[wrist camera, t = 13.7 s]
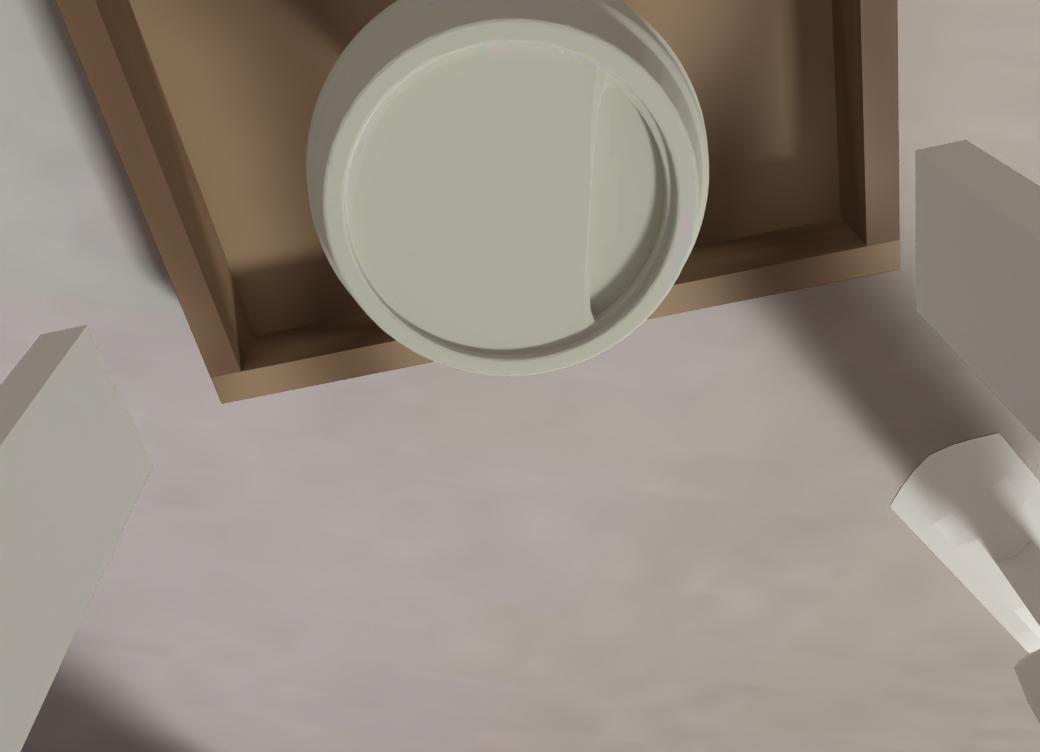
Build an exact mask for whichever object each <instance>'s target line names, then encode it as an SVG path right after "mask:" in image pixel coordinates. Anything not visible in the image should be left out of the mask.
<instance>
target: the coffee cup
mask: <svg viewBox="0 0 1040 752" xmlns="http://www.w3.org/2000/svg"><path fill="white" fill-rule="evenodd" d="M306 176H307V187H308V194H309V203H310V209H311V214H312V218H313V222H314V226H315V229H316V232H317V235H318V238H319V241H320V243H321V246H322V248H323V251H324V253H325V255H326V257H327V259H328V261H329V263H330V265H331V267H332V268H333V270H334V272H335V273H336V275H337V277H338V278H339V280H340V281H341V282H342V284H343V285H344V287H345V288H346V289H347V291H348V292H349V293H350V294H351V295H352V297H353V298H354V299H355V300H356V302H357V303H358V305H359V306H360V307H361V308H362V309H363V310H364V311H365V313H366V314H367V315H368V316H369V317H370V318H371V319H372V320H373V321H374V322H375V323H376V324H377V325H378V326H379V327H380V328H381V329H382V330H383V331H385V332H386V333H387V334H388V335H390V336H391V337H392V338H394V339H395V340H396V341H398V342H399V343H401V344H402V345H404V346H405V347H407V348H409V349H410V350H412V351H413V352H415V353H417V354H419V355H421V356H423V357H426V358H428V359H430V360H432V361H434V362H437V363H439V364H442V365H445V366H448V367H451V368H455V369H458V370H462V371H467V372H472V373H477V374H482V375H497V376H522V375H533V374H540V373H547V372H551V371H555V370H558V369H562V368H566V367H569V366H572V365H575V364H578V363H580V362H583V361H585V360H588V359H590V358H592V357H594V356H596V355H599V354H600V353H602V352H604V351H606V350H607V349H609V348H611V347H613V346H614V345H615V344H617V343H618V342H620V341H621V340H623V339H624V338H626V337H627V336H628V335H630V334H631V333H632V332H633V331H634V330H635V329H637V328H638V327H639V326H640V325H641V324H642V323H644V322H645V321H646V319H647V318H648V317H649V316H650V315H651V314H652V313H653V312H654V311H655V310H656V309H657V307H658V306H659V305H660V304H661V302H662V301H663V300H664V298H665V297H666V296H667V295H668V293H669V292H670V290H671V288H672V286H673V285H674V283H675V281H676V280H677V278H678V276H679V275H680V273H681V270H682V268H683V266H684V265H685V263H686V261H687V259H688V257H689V255H690V253H691V251H692V249H693V246H694V244H695V242H696V239H697V236H698V233H699V231H700V227H701V224H702V220H703V217H704V212H705V207H706V202H707V197H708V187H709V155H708V144H707V135H706V129H705V123H704V119H703V115H702V111H701V107H700V104H699V101H698V98H697V95H696V93H695V90H694V88H693V85H692V83H691V81H690V79H689V77H688V75H687V73H686V71H685V69H684V67H683V66H682V64H681V62H680V61H679V59H678V58H677V56H676V55H675V53H674V52H673V50H672V49H671V48H670V46H669V45H668V44H667V42H666V41H665V40H664V39H663V38H662V36H661V35H660V34H659V33H658V32H657V31H656V30H655V29H654V28H653V27H652V26H651V25H650V24H649V23H648V22H647V21H646V20H645V19H644V18H643V17H641V16H640V15H639V14H638V13H637V12H635V11H634V10H633V9H631V8H630V7H629V6H627V5H626V4H625V3H623V2H622V1H620V0H397V1H396V2H394V3H393V4H391V5H390V6H388V7H387V8H386V9H384V10H383V11H382V12H380V13H379V14H378V15H377V16H376V17H374V18H373V19H372V20H371V21H370V22H369V23H368V24H367V25H366V26H365V27H364V28H363V29H362V30H361V31H360V32H359V33H358V34H357V35H356V36H355V37H354V38H353V40H352V41H351V42H350V43H349V44H348V46H347V47H346V48H345V50H344V51H343V52H342V54H341V55H340V57H339V58H338V60H337V61H336V63H335V64H334V66H333V68H332V69H331V71H330V73H329V75H328V77H327V79H326V81H325V83H324V85H323V87H322V90H321V92H320V94H319V97H318V100H317V102H316V106H315V109H314V112H313V116H312V120H311V124H310V129H309V135H308V142H307V153H306Z"/></svg>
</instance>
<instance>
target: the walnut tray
mask: <svg viewBox="0 0 1040 752" xmlns="http://www.w3.org/2000/svg"><path fill="white" fill-rule="evenodd" d="M55 1H56V3H57V6H58V8H59V11H60V13H61V15H62V18H63V20H64V23H65V25H66V28H67V30H68V32H69V35H70V37H71V40H72V42H73V44H74V47H75V49H76V52H77V54H78V57H79V59H80V61H81V64H82V66H83V69H84V71H85V74H86V76H87V78H88V81H89V83H90V86H91V88H92V91H93V93H94V95H95V98H96V100H97V103H98V105H99V108H100V110H101V112H102V115H103V117H104V120H105V122H106V125H107V127H108V129H109V132H110V134H111V137H112V139H113V142H114V144H115V146H116V149H117V151H118V154H119V156H120V158H121V161H122V163H123V166H124V168H125V171H126V173H127V175H128V178H129V180H130V183H131V185H132V188H133V190H134V192H135V195H136V197H137V200H138V202H139V205H140V207H141V209H142V212H143V214H144V217H145V219H146V222H147V224H148V226H149V229H150V231H151V234H152V236H153V239H154V241H155V243H156V246H157V248H158V251H159V253H160V256H161V258H162V260H163V263H164V265H165V268H166V270H167V272H168V275H169V277H170V280H171V282H172V285H173V287H174V289H175V292H176V294H177V297H178V299H179V302H180V304H181V306H182V309H183V311H184V314H185V316H186V319H187V321H188V323H189V326H190V328H191V331H192V333H193V336H194V338H195V340H196V343H197V345H198V348H199V350H200V353H201V355H202V357H203V360H204V362H205V365H206V367H207V369H208V372H209V374H210V377H211V379H212V382H213V384H214V386H215V389H216V391H217V394H218V396H219V399H220V401H221V403H222V404H223V403H228V402H233V401H238V400H243V399H248V398H253V397H258V396H263V395H269V394H274V393H279V392H284V391H289V390H294V389H299V388H304V387H309V386H314V385H319V384H324V383H329V382H334V381H339V380H344V379H349V378H354V377H359V376H364V375H369V374H374V373H379V372H384V371H390V370H395V369H400V368H405V367H410V366H415V365H420V364H425V363H430V362H434V361H432V360H430V359H428V358H426V357H423V356H421V355H419V354H417V353H415V352H413V351H412V350H410V349H409V348H407V347H405V346H404V345H402V344H401V343H399V342H398V341H396V340H395V339H394V338H392V337H391V336H390V335H388V334H387V333H386V332H385V331H383V330H382V329H381V328H380V327H379V326H378V325H377V324H376V323H375V322H374V321H373V320H372V319H371V318H370V317H369V316H368V315H367V314H366V313H365V311H364V310H363V309H362V308H361V307H360V306H359V305H358V303H357V302H356V300H355V299H354V298H353V297H352V295H351V294H350V293H349V292H348V291H347V289H346V288H345V287H344V285H343V284H342V282H341V281H340V280H339V278H338V277H337V275H336V273H335V272H334V270H333V268H332V267H331V265H330V263H329V261H328V259H327V257H326V255H325V253H324V251H323V248H322V246H321V243H320V241H319V238H318V235H317V232H316V229H315V226H314V222H313V218H312V214H311V209H310V203H309V194H308V187H307V176H306V153H307V142H308V135H309V129H310V124H311V120H312V116H313V112H314V109H315V106H316V102H317V100H318V97H319V94H320V92H321V90H322V87H323V85H324V83H325V81H326V79H327V77H328V75H329V73H330V71H331V69H332V68H333V66H334V64H335V63H336V61H337V60H338V58H339V57H340V55H341V54H342V52H343V51H344V50H345V48H346V47H347V46H348V44H349V43H350V42H351V41H352V40H353V38H354V37H355V36H356V35H357V34H358V33H359V32H360V31H361V30H362V29H363V28H364V27H365V26H366V25H367V24H368V23H369V22H370V21H371V20H372V19H373V18H374V17H376V16H377V15H378V14H379V13H380V12H382V11H383V10H384V9H386V8H387V7H388V6H390V5H391V4H393V3H394V2H396V1H397V0H55ZM620 1H622V2H623V3H625V4H626V5H627V6H629V7H630V8H631V9H633V10H634V11H635V12H637V13H638V14H639V15H640V16H641V17H643V18H644V19H645V20H646V21H647V22H648V23H649V24H650V25H651V26H652V27H653V28H654V29H655V30H656V31H657V32H658V33H659V34H660V35H661V36H662V38H663V39H664V40H665V41H666V42H667V44H668V45H669V46H670V48H671V49H672V50H673V52H674V53H675V55H676V56H677V58H678V59H679V61H680V62H681V64H682V66H683V67H684V69H685V71H686V73H687V75H688V77H689V79H690V81H691V83H692V85H693V88H694V90H695V93H696V95H697V98H698V101H699V104H700V107H701V111H702V115H703V119H704V123H705V129H706V135H707V144H708V155H709V187H708V197H707V202H706V207H705V212H704V217H703V220H702V224H701V227H700V231H699V233H698V236H697V239H696V242H695V244H694V246H693V249H692V251H691V253H690V255H689V257H688V259H687V261H686V263H685V265H684V266H683V268H682V270H681V273H680V275H679V276H678V278H677V280H676V281H675V283H674V285H673V286H672V288H671V290H670V292H669V293H668V295H667V296H666V297H665V298H664V300H663V301H662V302H661V304H660V305H659V306H658V307H657V309H656V310H655V311H654V312H653V313H652V314H651V315H650V316H649V317H648V318H647V319H652V318H657V317H662V316H667V315H672V314H677V313H682V312H687V311H692V310H697V309H702V308H707V307H712V306H717V305H722V304H727V303H732V302H737V301H742V300H747V299H753V298H758V297H763V296H768V295H773V294H778V293H783V292H788V291H793V290H798V289H803V288H808V287H813V286H818V285H823V284H828V283H833V282H838V281H843V280H848V279H853V278H858V277H863V276H868V275H874V274H879V273H884V272H889V271H894V270H899V269H900V241H899V131H898V22H897V0H620ZM647 319H646V320H647Z"/></svg>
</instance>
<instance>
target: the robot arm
mask: <svg viewBox="0 0 1040 752" xmlns="http://www.w3.org/2000/svg"><path fill="white" fill-rule="evenodd" d="M916 311H917V312H918V313H919V314H920V315H921V317H922V318H923V319H924V320H925V321H926V322H927V323H928V324H929V325H930V326H931V327H932V328H933V329H934V330H935V331H936V332H937V334H938V335H939V336H940V337H941V338H942V339H943V340H944V341H945V342H946V343H947V344H948V345H949V346H950V347H951V348H952V350H953V351H954V352H955V353H956V354H957V355H958V356H959V357H960V358H961V359H962V360H963V361H964V362H965V363H966V364H967V366H968V367H969V368H970V369H971V370H972V371H973V372H974V373H975V374H976V375H977V376H978V377H979V378H980V379H981V380H982V382H983V383H984V384H985V385H986V386H987V387H988V388H989V389H990V390H991V391H992V392H993V393H994V394H995V395H996V396H997V398H998V399H999V400H1000V401H1001V402H1002V403H1003V404H1004V405H1005V406H1006V407H1007V408H1008V409H1009V410H1010V411H1011V412H1012V414H1013V415H1014V416H1015V417H1016V418H1017V419H1018V420H1019V421H1020V422H1021V423H1022V424H1023V425H1024V426H1025V427H1026V428H1027V430H1028V431H1029V432H1030V433H1031V434H1032V435H1033V436H1034V437H1035V438H1036V439H1037V440H1038V441H1039V442H1040V186H1038V185H1037V184H1035V183H1034V182H1032V181H1030V180H1029V179H1027V178H1026V177H1024V176H1022V175H1021V174H1019V173H1018V172H1016V171H1014V170H1013V169H1011V168H1010V167H1008V166H1007V165H1005V164H1003V163H1002V162H1000V161H999V160H997V159H995V158H994V157H992V156H991V155H989V154H987V153H986V152H984V151H983V150H981V149H980V148H978V147H976V146H975V145H973V144H972V143H970V142H968V141H967V140H963V141H958V142H954V143H949V144H944V145H939V146H935V147H930V148H925V149H920V150H916ZM152 466H153V465H152V463H151V461H150V459H149V457H148V454H147V452H146V450H145V448H144V446H143V444H142V442H141V439H140V437H139V435H138V433H137V431H136V429H135V427H134V424H133V422H132V420H131V418H130V416H129V414H128V412H127V409H126V407H125V405H124V403H123V401H122V399H121V397H120V394H119V392H118V390H117V388H116V386H115V384H114V382H113V379H112V377H111V375H110V373H109V371H108V369H107V367H106V364H105V362H104V360H103V358H102V356H101V354H100V352H99V349H98V347H97V345H96V343H95V341H94V339H93V337H92V334H91V332H90V330H89V328H88V326H87V325H85V326H80V327H76V328H71V329H66V330H61V331H57V332H52V333H47V334H42V335H40V336H39V338H38V339H37V340H36V341H35V343H34V344H33V345H32V346H31V348H30V349H29V350H28V351H27V353H26V354H25V355H24V356H23V358H22V359H21V360H20V362H19V363H18V364H17V365H16V367H15V368H14V369H13V370H12V372H11V373H10V374H9V375H8V377H7V378H6V379H5V380H4V382H3V383H2V384H1V385H0V752H21V750H22V748H23V745H24V743H25V741H26V739H27V737H28V735H29V732H30V730H31V728H32V726H33V724H34V722H35V719H36V717H37V715H38V713H39V711H40V709H41V706H42V704H43V702H44V700H45V698H46V696H47V693H48V691H49V689H50V687H51V685H52V683H53V680H54V678H55V676H56V674H57V672H58V670H59V667H60V665H61V663H62V661H63V659H64V657H65V654H66V652H67V650H68V648H69V646H70V644H71V642H72V639H73V637H74V635H75V633H76V631H77V629H78V626H79V624H80V622H81V620H82V618H83V616H84V613H85V611H86V609H87V607H88V605H89V603H90V600H91V598H92V596H93V594H94V592H95V590H96V587H97V585H98V583H99V581H100V579H101V577H102V574H103V572H104V570H105V568H106V566H107V564H108V561H109V559H110V557H111V555H112V553H113V551H114V549H115V546H116V544H117V542H118V540H119V538H120V536H121V533H122V531H123V529H124V527H125V525H126V523H127V520H128V518H129V516H130V514H131V512H132V510H133V507H134V505H135V503H136V501H137V499H138V497H139V494H140V492H141V490H142V488H143V486H144V484H145V481H146V479H147V477H148V475H149V473H150V471H151V468H152Z"/></svg>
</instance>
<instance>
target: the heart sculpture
mask: <svg viewBox="0 0 1040 752" xmlns="http://www.w3.org/2000/svg"><path fill="white" fill-rule="evenodd" d="M890 508H891V509H892V510H893V511H894V512H895V513H896V514H897V515H898V516H899V517H900V518H901V519H902V520H903V521H904V522H905V523H906V524H907V525H908V526H909V528H910V529H911V530H912V531H913V532H914V533H915V534H916V535H917V536H918V537H919V538H920V539H921V540H922V541H923V542H924V543H925V544H926V545H927V546H928V548H929V549H930V550H931V551H932V552H933V553H934V554H935V555H936V556H937V557H938V558H939V559H940V560H941V561H942V562H943V563H944V564H945V565H946V566H947V568H948V569H949V570H950V571H951V572H952V573H953V574H954V575H955V576H956V577H957V578H958V579H959V580H960V581H961V582H962V583H963V584H964V585H965V587H966V588H967V589H968V590H969V591H970V592H971V593H972V594H973V595H974V596H975V597H976V598H977V599H978V600H979V601H980V602H981V603H982V604H983V605H984V607H985V608H986V609H987V610H988V611H989V612H990V613H991V614H992V615H993V616H994V617H995V618H996V619H997V620H998V621H999V622H1000V623H1001V624H1002V625H1003V627H1004V628H1005V629H1006V630H1007V631H1008V632H1009V633H1010V634H1011V635H1012V636H1013V637H1014V638H1015V639H1016V640H1017V641H1018V642H1019V643H1020V644H1021V645H1022V647H1023V648H1024V649H1025V650H1026V651H1027V652H1028V653H1031V652H1033V653H1031V654H1030V655H1028V656H1026V657H1024V658H1023V659H1021V660H1020V661H1019V662H1018V663H1017V665H1016V666H1015V667H1014V668H1015V670H1016V673H1017V676H1018V678H1019V681H1020V683H1021V686H1022V689H1023V691H1024V694H1025V696H1026V699H1027V702H1028V704H1029V705H1030V707H1031V709H1032V710H1033V712H1034V714H1035V716H1036V717H1037V719H1038V721H1039V722H1040V482H1039V480H1038V479H1037V478H1036V477H1035V476H1034V474H1033V473H1032V472H1031V471H1030V470H1029V468H1028V467H1027V466H1026V465H1025V464H1024V462H1023V461H1022V460H1021V459H1020V458H1019V456H1018V455H1017V454H1016V453H1015V452H1014V450H1013V449H1012V448H1011V447H1010V446H1009V444H1008V443H1007V442H1006V441H1005V440H1004V438H1003V437H1002V436H1001V435H1000V434H999V433H997V434H993V435H988V436H983V437H979V438H974V439H971V440H968V441H964V442H961V443H958V444H954V445H951V446H949V447H946V448H944V449H942V450H940V451H938V452H935V453H933V454H931V455H929V456H928V457H927V458H926V459H925V460H924V461H923V462H922V463H921V464H920V465H919V466H918V467H917V468H916V469H915V470H914V471H913V473H912V474H911V475H910V477H909V478H908V479H907V481H906V482H905V483H904V485H903V486H902V488H901V489H900V491H899V492H898V494H897V496H896V497H895V499H894V501H893V502H892V504H891V506H890Z"/></svg>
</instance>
